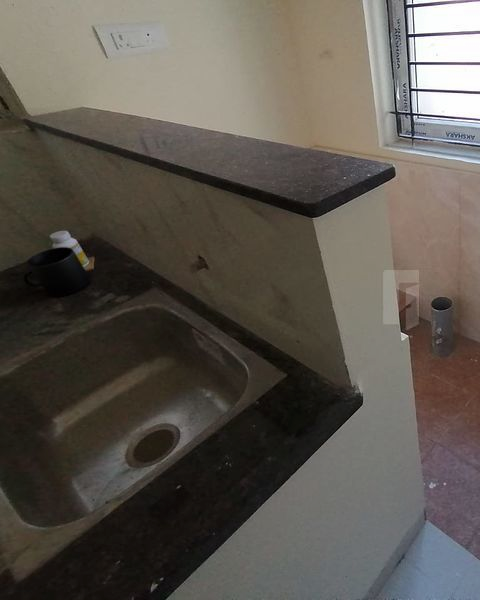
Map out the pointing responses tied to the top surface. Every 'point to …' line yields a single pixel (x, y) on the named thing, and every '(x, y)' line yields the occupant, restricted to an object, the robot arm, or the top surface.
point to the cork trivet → (90, 264)
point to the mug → (57, 272)
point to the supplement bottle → (69, 245)
